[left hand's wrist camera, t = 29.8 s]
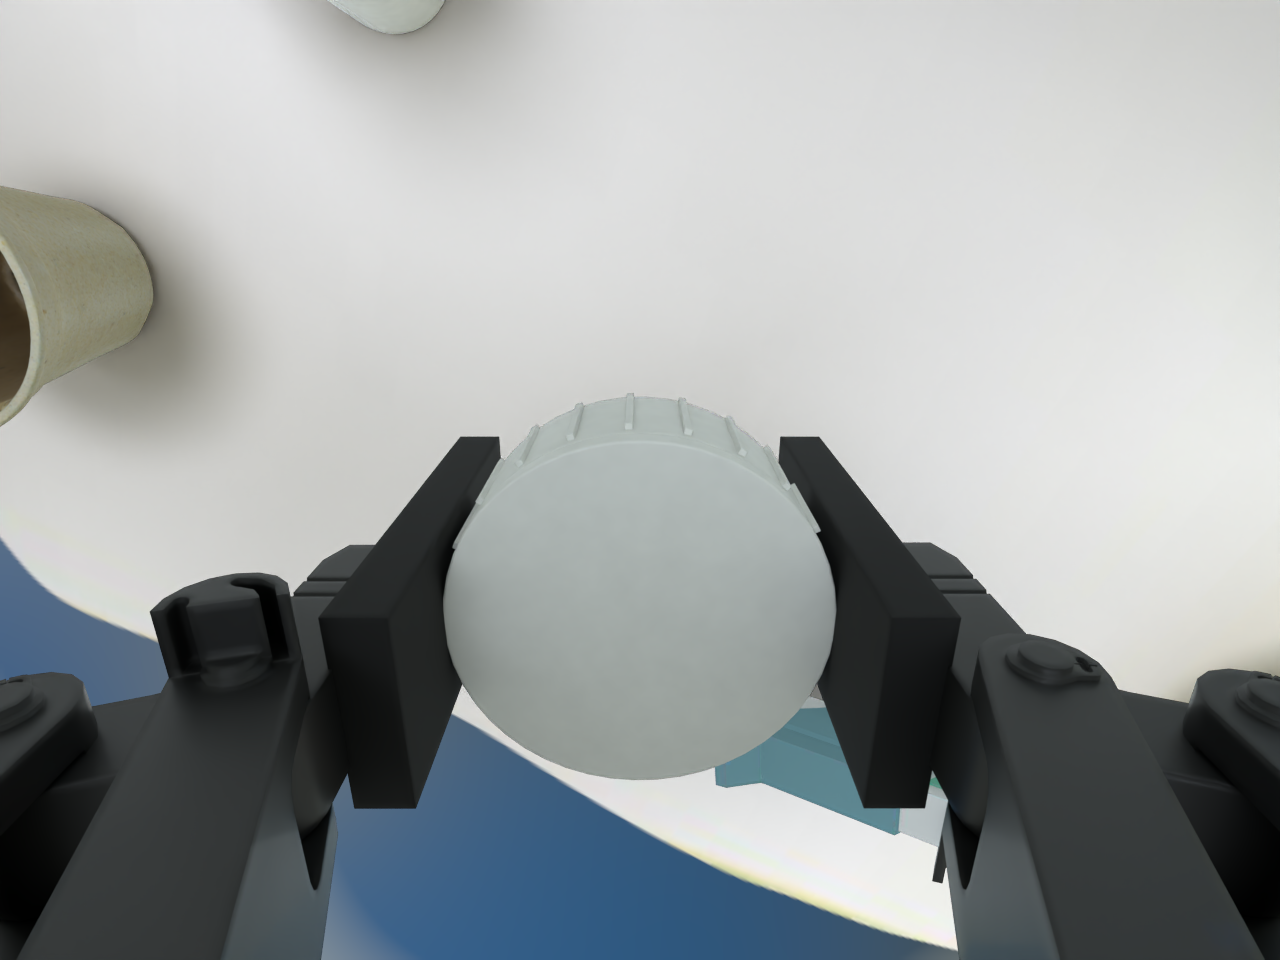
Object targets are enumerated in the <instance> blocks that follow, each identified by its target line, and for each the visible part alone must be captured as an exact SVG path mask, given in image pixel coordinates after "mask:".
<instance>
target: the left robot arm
mask: <svg viewBox="0 0 1280 960" xmlns="http://www.w3.org/2000/svg"><path fill="white" fill-rule="evenodd" d="M500 459H501V456H500V442H499V437H460V438H459V439H458V441H457V442H456V443H455V444H454V446H453V447H452V448H451V450H450V451H449V452H448V453H447V455H446V456H445V457H444V458H443V460H442V461H441V462H440V463H439V465H438V466H437V467H436V469H435V470H434V471H433V472H432V474H431V475H430V476H429V477H428V479H427V480H426V481H425V483H424V484H423V485H422V486H421V488H420V489H419V490H418V491H417V493H416V494H415V495H414V497H413V498H412V499H411V500H410V502H409V503H408V504H407V505H406V507H405V508H404V509H403V511H402V512H401V513H400V514H399V516H398V517H397V518H396V519H395V521H394V522H393V523H392V524H391V526H390V527H389V528H388V530H387V531H386V532H385V533H384V535H383V536H382V537H381V538H380V540H379V541H378V542H377V544H376V545H349V546H347V547H345V548H344V549H342V550H340V551H338V552H337V553H335V554H333V555H331V556H330V557H328V558H326V559H324V560H323V561H322V562H321V563H320V564H319V565H318V566H317V567H316V569H315V570H314V571H313V572H312V573H311V574H310V575H309V576H308V577H307V581H304V582H303V583H302V584H301V585H300V586H299V587H298V588H297V590H296V591H295V592H294V596H293V597H290V592H289V587H288V583H287V582H285V581H284V580H282V579H281V578H279V577H278V576H275V575H269V574H264V573H236V574H231V575H226V576H220V577H215V578H210V579H207V580H204V581H201V582H198V583H196V584H193V585H190V586H187V587H184V588H182V589H181V590H179V591H177V592H175V593H173V594H171V595H169V596H168V597H166V598H164V599H163V600H162V601H161V602H159V603H158V604H157V605H156V606H155V607H154V608H153V609H152V610H151V611H150V614H151V618H152V621H153V625H154V628H155V631H156V635H157V638H158V642H159V645H160V649H161V652H162V656H163V659H164V663H165V666H166V669H167V673H168V676H169V679H168V681H167V683H166V684H165V686H164V688H163V690H162V692H161V693H159V694H155V695H150V696H145V697H140V698H134V699H129V700H124V701H119V702H114V703H108V704H103V705H98V706H92V707H91V704H90V701H89V698H88V695H87V692H86V689H85V686H84V683H83V682H82V681H81V680H79V679H78V678H76V677H75V676H74V675H72V674H64V673H55V672H49V673H41V674H33V675H21V676H16V677H12V678H9V680H7V681H6V679H4V680H1V681H0V960H321V955H322V948H323V941H324V933H325V926H326V919H327V911H328V904H329V896H330V889H331V882H332V874H333V867H334V860H335V852H336V845H337V838H338V831H337V823H336V817H335V812H334V808H333V803H332V802H333V800H334V798H335V797H336V795H337V793H338V791H339V789H340V787H341V785H342V783H343V781H344V779H345V777H346V775H347V773H348V777H349V783H350V787H351V793H352V799H353V804H354V808H355V809H364V808H365V809H369V808H370V809H371V808H372V809H378V808H379V809H388V808H389V809H392V808H395V809H398V808H399V809H401V808H402V809H403V808H407V809H413V808H416V807H417V804H418V801H419V799H420V796H421V793H422V791H423V788H424V785H425V782H426V780H427V777H428V775H429V772H430V769H431V767H432V764H433V761H434V758H435V756H436V753H437V750H438V748H439V745H440V742H441V740H442V737H443V734H444V732H445V729H446V726H447V724H448V721H449V718H450V716H451V713H452V710H453V708H454V705H455V702H456V700H457V697H458V694H459V692H460V689H461V686H462V682H461V680H460V678H459V676H458V673H457V671H456V669H455V667H454V665H453V662H452V659H451V656H450V652H449V649H448V646H447V638H446V630H445V622H444V612H443V595H444V588H445V582H446V576H447V572H448V569H449V566H450V563H451V560H452V556H453V553H454V551H455V549H454V548H452V547H453V544H454V541H455V539H456V538H457V536H458V534H459V532H460V531H461V529H462V527H463V525H464V523H465V522H466V520H467V518H468V516H469V515H470V513H471V511H472V509H473V507H474V506H475V504H476V500H477V498H478V496H479V494H480V493H481V491H482V489H483V487H484V486H485V484H486V482H487V480H488V479H489V477H490V475H491V473H492V471H493V470H494V468H495V466H496V464H497V463H498V461H499V460H500ZM779 465H780V466H781V468H782V470H783V472H784V474H785V476H786V478H787V479H788V481H789V483H790V485H791V484H794V483H795V485H796V487H797V488H798V490H799V492H800V494H801V496H802V497H803V499H804V501H805V503H806V505H807V506H808V508H809V510H810V512H811V513H812V515H813V517H814V519H815V521H816V522H817V524H818V526H819V528H820V530H821V531H820V532H818V533H816V535H817V536H818V538H819V540H820V542H821V544H822V547H823V549H824V552H825V554H826V557H827V559H828V562H829V564H830V568H831V572H832V577H833V581H834V585H835V594H836V618H835V627H834V636H833V642H832V647H831V651H830V655H829V657H828V660H827V663H826V665H825V668H824V670H823V673H822V675H821V677H820V679H819V681H818V682H817V685H818V687H819V690H820V693H821V695H822V698H823V701H824V703H825V706H826V709H827V711H828V714H829V717H830V719H831V722H832V725H833V727H834V730H835V733H836V736H837V738H838V741H839V744H840V746H841V749H842V752H843V754H844V757H845V760H846V762H847V765H848V768H849V770H850V773H851V776H852V778H853V781H854V784H855V786H856V789H857V792H858V794H859V797H860V800H861V803H862V805H863V808H864V809H925V807H926V801H927V796H928V791H929V786H930V780H931V775H932V771H933V773H934V774H935V776H936V778H937V780H938V782H939V784H940V786H941V788H942V790H943V792H944V794H945V796H946V798H947V799H948V803H947V808H946V812H945V817H944V822H943V827H942V832H941V837H940V842H939V847H938V852H937V856H936V861H935V866H934V873H933V880H932V881H934V882H938V883H943V878H944V873H945V869H946V868H947V873H948V880H949V887H950V895H951V902H952V909H953V917H954V924H955V931H956V939H957V946H958V953H959V960H1280V677H1278V676H1275V677H1272V676H1271V674H1267V673H1262V672H1258V671H1244V670H1236V669H1222V670H1212V671H1208V672H1206V673H1205V674H1203V675H1202V676H1200V677H1199V678H1198V679H1197V681H1196V684H1195V687H1194V690H1193V693H1192V696H1191V699H1190V702H1189V703H1184V702H1179V701H1173V700H1168V699H1163V698H1158V697H1152V696H1147V695H1142V694H1136V693H1131V692H1127V691H1122V690H1118V688H1117V687H1116V685H1115V683H1114V681H1113V679H1112V677H1111V676H1110V675H1109V674H1108V673H1107V672H1106V670H1105V669H1104V668H1103V667H1102V666H1101V665H1100V664H1099V663H1098V662H1097V661H1095V660H1094V659H1092V658H1091V657H1089V656H1088V655H1086V654H1085V653H1083V652H1081V651H1080V650H1078V649H1076V648H1073V647H1071V646H1068V645H1066V644H1063V643H1061V642H1059V641H1056V640H1053V639H1048V638H1044V637H1040V636H1035V635H1031V634H1026V633H1025V632H1024V631H1023V630H1022V629H1021V628H1020V627H1019V625H1018V624H1017V623H1016V622H1015V621H1014V620H1013V619H1012V618H1011V617H1010V616H1009V614H1008V613H1007V612H1006V611H1005V610H1004V609H1003V608H1002V607H1001V606H1000V605H999V603H998V602H997V601H996V600H995V599H994V598H993V597H992V596H991V595H990V594H987V593H986V589H985V588H984V587H983V586H982V585H981V584H980V583H979V581H978V580H977V579H973V575H972V574H971V573H970V572H969V570H968V569H967V568H966V567H965V566H964V565H963V564H962V563H961V562H960V561H959V559H958V558H957V557H955V556H953V555H951V554H949V553H948V552H946V551H944V550H942V549H941V548H939V547H937V546H935V545H933V544H932V543H902V542H901V540H900V539H899V538H898V537H897V535H896V534H895V533H894V531H893V530H892V529H891V528H890V526H889V525H888V524H887V523H886V521H885V520H884V519H883V517H882V516H881V515H880V514H879V512H878V511H877V510H876V509H875V507H874V506H873V505H872V503H871V502H870V501H869V500H868V498H867V497H866V496H865V495H864V493H863V492H862V491H861V489H860V488H859V487H858V486H857V484H856V483H855V482H854V481H853V479H852V478H851V477H850V475H849V474H848V473H847V472H846V470H845V469H844V468H843V467H842V465H841V464H840V463H839V462H838V460H837V459H836V458H835V456H834V455H833V454H832V453H831V451H830V450H829V449H828V448H827V446H826V445H825V444H824V442H823V441H822V440H821V439H820V437H780V450H779Z"/></svg>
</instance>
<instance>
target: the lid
mask: <svg viewBox="0 0 1280 960" xmlns="http://www.w3.org/2000/svg"><path fill="white" fill-rule="evenodd" d="M820 531H821V530H820V528H819V526H818V524H817V522H816V521H815V519H814V517H813V515H812V513H811V512H810V510H809V508H808V506H807V505H806V503H805V501H804V499H803V497H802V496H801V494H800V492H799V490H798V488H797V487H796V485H795V483H794V484H791V485H790V483H789V481H788V479H787V478H786V476H785V474H784V472H783V470H782V468H781V466H780V465H779V463H778V461H777V459H776V457H775V455H774V454H773V452H772V450H771V448H770V447H769V446H768V445H766V446H765V447H764V448H763V447H762V446H761V445H760V444H759V443H758V442H757V441H756V440H755V439H754V438H752V437H751V436H750V435H749V434H748V433H746V432H745V431H743V430H742V429H741V428H739V427H738V426H736V424H735V422H734V420H733V418H732V417H730V416H728V415H727V417H726V418H723V417H721V416H719V415H717V414H715V413H713V412H711V411H708V410H705V409H703V408H700V407H697V406H695V405H692V404H688V403H686V399H684V398H679V400H678V401H675V400H670V399H663V398H652V397H634V393H629V394H627V397H626V398H617V399H611V400H604V401H599V402H595V403H592V404H589V405H585V406H584V405H583V403H582V402H581V403H578V404H576V406H575V409H574V410H571V411H569V412H567V413H565V414H563V415H560V416H558V417H556V418H554V419H553V420H551V421H550V422H548V423H546V424H545V425H543V426H542V427H540V428H539V427H538V426H537V425H535V426H534V427H533V428H532V429H531V431H530V433H529V435H528V437H527V438H526V439H525V440H524V441H522V442H521V443H520V444H519V445H518V447H517V448H516V449H515V450H514V451H513V452H512V453H511V454H510V455H509V456H508V457H507V459H506V460H504V459H502V458H501V459H500V460H499V461H498V463H497V464H496V466H495V468H494V470H493V471H492V473H491V475H490V477H489V479H488V480H487V482H486V484H485V486H484V487H483V489H482V491H481V493H480V494H479V496H478V498H477V500H476V504H475V506H474V507H473V509H472V511H471V513H470V515H469V516H468V518H467V520H466V522H465V523H464V525H463V527H462V529H461V531H460V532H459V534H458V536H457V538H456V539H455V541H454V544H453V547H452V548H454V549H455V551H454V553H453V556H452V560H451V563H450V566H449V569H448V572H447V576H446V582H445V588H444V595H443V612H444V622H445V630H446V638H447V646H448V649H449V652H450V656H451V659H452V662H453V665H454V667H455V669H456V671H457V673H458V676H459V678H460V680H461V682H462V684H463V686H464V687H465V689H466V690H467V692H468V693H469V695H470V696H471V698H472V699H473V701H474V702H475V704H476V705H477V706H478V707H479V708H480V710H481V711H482V712H483V713H484V714H485V715H486V716H487V718H488V719H489V720H490V721H491V722H492V723H493V724H495V725H496V726H497V727H498V728H499V729H500V730H501V731H502V732H503V733H505V734H506V735H507V736H508V737H510V738H511V739H513V740H514V741H515V742H517V743H518V744H520V745H521V746H523V747H524V748H526V749H527V750H529V751H531V752H533V753H535V754H537V755H538V756H540V757H542V758H544V759H546V760H548V761H551V762H553V763H556V764H558V765H561V766H563V767H565V768H569V769H572V770H576V771H579V772H582V773H586V774H590V775H596V776H601V777H607V778H614V779H627V780H654V779H664V778H672V777H680V776H684V775H689V774H693V773H697V772H701V771H705V770H708V769H710V768H713V767H716V766H719V765H722V764H725V763H727V762H729V761H731V760H733V759H735V758H737V757H739V756H741V755H744V754H746V753H747V752H749V751H750V750H752V749H754V748H755V747H757V746H758V745H760V744H762V743H763V742H765V741H766V740H767V739H768V738H770V737H771V736H772V735H773V734H775V733H776V732H777V731H778V730H780V729H781V728H782V727H783V726H784V725H785V724H786V723H787V722H788V721H789V720H790V719H791V718H792V717H793V716H794V715H795V714H796V713H797V712H798V710H799V709H800V708H801V707H802V705H803V704H804V703H805V701H806V700H807V699H808V697H809V696H810V695H811V693H812V691H813V689H814V688H815V686H816V684H817V682H818V681H819V679H820V677H821V675H822V673H823V670H824V668H825V665H826V663H827V660H828V657H829V655H830V651H831V647H832V642H833V636H834V627H835V618H836V594H835V585H834V581H833V577H832V572H831V568H830V564H829V562H828V559H827V557H826V554H825V552H824V549H823V547H822V544H821V542H820V540H819V538H818V536H817V535H816V533H818V532H820Z"/></svg>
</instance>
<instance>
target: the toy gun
mask: <svg viewBox="0 0 1280 960" xmlns="http://www.w3.org/2000/svg"><path fill="white" fill-rule="evenodd" d="M715 776H716V785H718V786H722V787H726V788H728V787H734V786H741V785H748V784H755V783H764V784H766V785H769V786H772V787H774V788H777V789H779V790H782V791H784V792H787V793H789V794H792V795H794V796H797V797H799V798H802V799H804V800H807V801H809V802H812V803H814V804H817V805H819V806H822V807H824V808H827V809H830V810H832V811H835V812H837V813H840V814H842V815H845V816H847V817H850V818H852V819H855V820H857V821H860V822H862V823H865V824H867V825H870V826H872V827H875V828H877V829H880V830H883V831H885V832H888V833H890V834H893V835H896V834H898V833H900V832H901V833H904V834H907V835H909V836H912V837H914V838H917V839H919V840H922V841H924V842H927V843H930V844H932V845H935V846H937V847H939V842H940V837H941V832H942V827H943V822H944V817H945V812H946V808H947V803H948V799H947V798H946V796H945V794H944V792H943V790H942V788H941V786H940V784H939V782H938V780H937V778H936V776H935V774H934V773H933V771H932V775H931V780H930V786H929V791H928V796H927V801H926V807H925V809H864V808H863V805H862V803H861V800H860V797H859V794H858V792H857V789H856V786H855V784H854V781H853V778H852V776H851V773H850V770H849V768H848V765H847V762H846V760H845V757H844V754H843V752H842V749H841V746H840V744H839V741H838V738H837V736H836V733H835V730H834V727H833V725H832V722H831V719H830V717H829V714H828V711H827V709H826V706H825V703H824V701H823V700H820V699H817V698H813V697H810V696H809V697H808V699H807V700H806V701H805V703H804V704H803V705H802V707H801V708H800V709H799V710H798V712H797V713H796V714H795V715H794V716H793V717H792V718H791V719H790V720H789V721H788V722H787V723H786V724H785V725H784V726H783V727H782V728H781V729H780V730H778V731H777V732H776V733H775V734H773V735H772V736H771V737H770V738H768V739H767V740H766V741H765V742H763V743H762V744H760V745H758V746H757V747H755V748H754V749H752V750H750V751H749V752H747V753H746V754H744V755H741V756H739V757H737V758H735V759H733V760H731V761H729V762H727V763H725V764H722V765H719V766H716V767H715Z"/></svg>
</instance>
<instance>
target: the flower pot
mask: <svg viewBox="0 0 1280 960" xmlns="http://www.w3.org/2000/svg"><path fill="white" fill-rule="evenodd" d="M152 303H153V287H152V281H151V276H150V273H149V270H148V267H147V264H146V262H145V259H144V257H143V255H142V254H141V252H140V250H139V249H138V247H137V245H136V244H135V242H134V241H133V240H132V238H131V237H130V236H129V235H128V234H127V232H126V231H125V230H124V229H123V228H122V227H120V226H119V225H118V224H116V223H115V222H113V221H112V220H110V219H109V218H107V217H106V216H104V215H103V214H101V213H99V212H98V211H96V210H95V209H93V208H91V207H90V206H88V205H86V204H83V203H81V202H77V201H74V200H70V199H63V198H57V197H52V196H47V195H42V194H38V193H33V192H28V191H23V190H18V189H13V188H8V187H3V186H0V426H2V425H3V424H5V423H6V422H8V421H9V420H11V419H12V418H13V417H14V416H15V415H17V414H18V413H19V412H20V411H21V410H22V409H23V408H24V407H25V405H26V404H27V403H28V401H29V400H30V399H31V397H32V396H34V395H35V394H36V393H37V392H38V391H39V390H40V388H41V387H42V386H43V385H44V384H46V383H48V382H50V381H52V380H54V379H56V378H58V377H60V376H62V375H64V374H66V373H68V372H70V371H72V370H74V369H76V368H78V367H80V366H82V365H84V364H86V363H88V362H90V361H92V360H93V359H95V358H97V357H99V356H102V355H104V354H106V353H108V352H110V351H112V350H114V349H116V348H119V347H121V346H123V345H125V344H127V343H128V342H130V341H131V340H133V339H134V338H135V337H136V336H137V335H138V334H139V333H140V331H141V328H142V327H143V325H144V323H145V321H146V319H147V316H148V314H149V311H150V309H151V306H152Z"/></svg>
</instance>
